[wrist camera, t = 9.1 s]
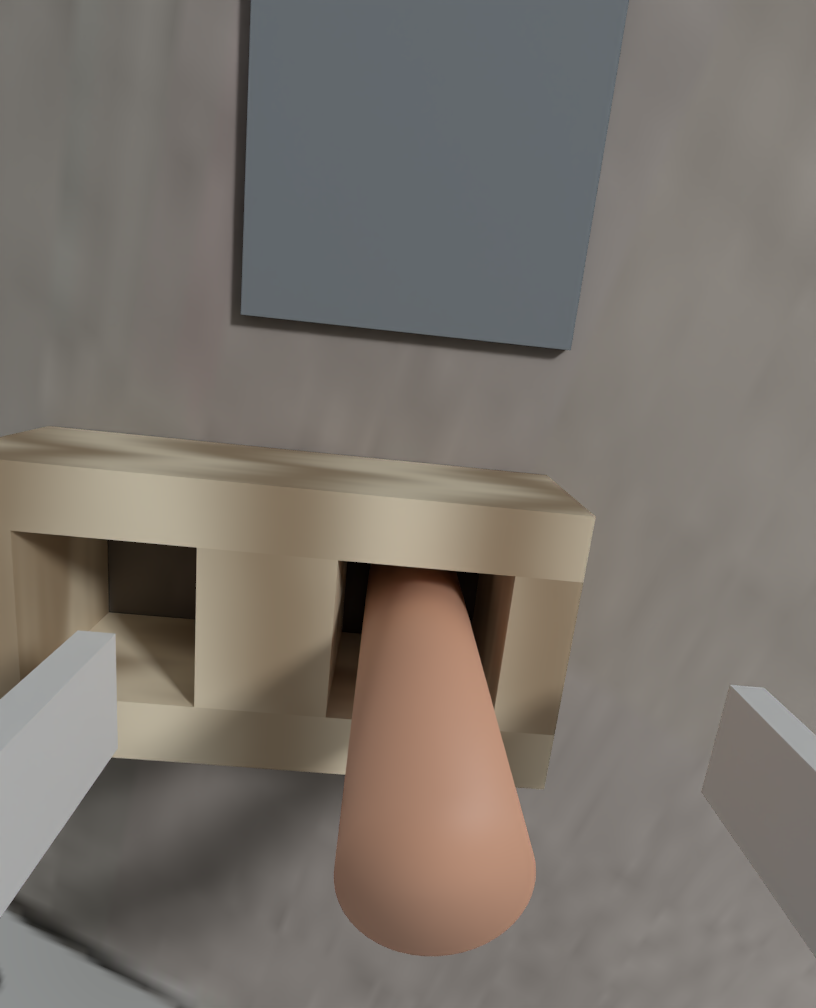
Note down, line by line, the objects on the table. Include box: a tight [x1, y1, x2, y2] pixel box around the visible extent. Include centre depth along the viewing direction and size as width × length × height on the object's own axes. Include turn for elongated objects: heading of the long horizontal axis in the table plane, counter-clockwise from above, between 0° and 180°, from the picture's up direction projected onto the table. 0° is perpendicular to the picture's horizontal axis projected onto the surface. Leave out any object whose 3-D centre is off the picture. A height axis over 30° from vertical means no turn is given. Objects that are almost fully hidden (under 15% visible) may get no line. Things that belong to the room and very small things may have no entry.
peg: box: [334, 563, 536, 956], centre depth 15 cm, size 3×3×12 cm
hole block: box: [0, 426, 596, 789], centre depth 18 cm, size 16×8×5 cm, turn 84°
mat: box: [241, 0, 629, 350], centre depth 17 cm, size 10×10×1 cm
